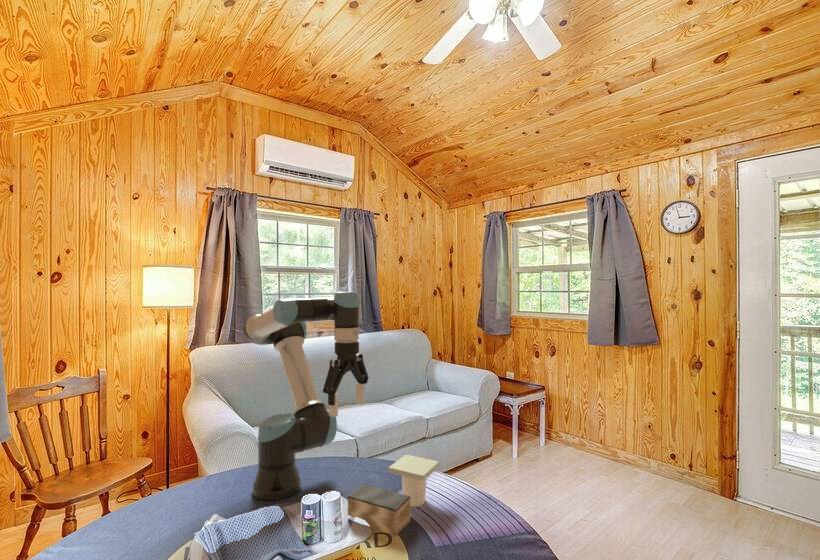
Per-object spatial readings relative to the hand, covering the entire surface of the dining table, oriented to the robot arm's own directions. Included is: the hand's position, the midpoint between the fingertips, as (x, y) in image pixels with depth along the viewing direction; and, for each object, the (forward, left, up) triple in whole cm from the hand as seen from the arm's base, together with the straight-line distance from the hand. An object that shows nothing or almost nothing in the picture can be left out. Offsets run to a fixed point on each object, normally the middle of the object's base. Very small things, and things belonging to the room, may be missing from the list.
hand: (347, 409), depth 129 cm
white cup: (+18, +10, -29) cm, 35 cm away
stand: (+14, -4, -29) cm, 32 cm away
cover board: (+18, +10, -19) cm, 28 cm away
